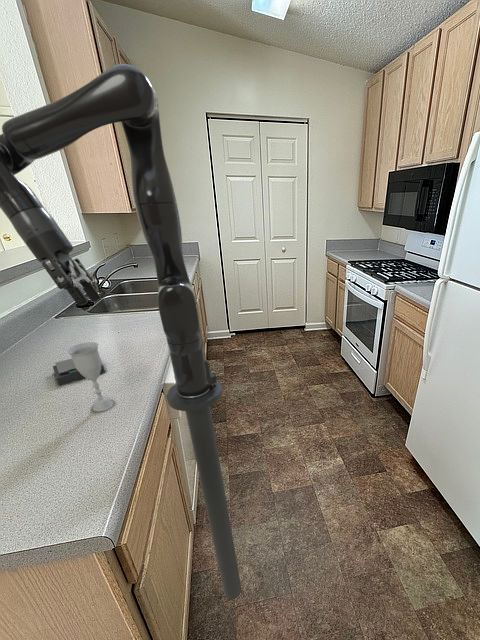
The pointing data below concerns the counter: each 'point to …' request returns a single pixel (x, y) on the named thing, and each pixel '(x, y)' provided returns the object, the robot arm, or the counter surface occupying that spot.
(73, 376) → the scale
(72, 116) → the robot arm
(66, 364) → the pan
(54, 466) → the counter surface
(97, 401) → the chalice
